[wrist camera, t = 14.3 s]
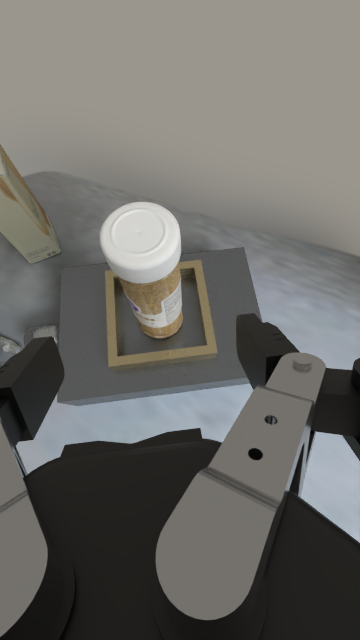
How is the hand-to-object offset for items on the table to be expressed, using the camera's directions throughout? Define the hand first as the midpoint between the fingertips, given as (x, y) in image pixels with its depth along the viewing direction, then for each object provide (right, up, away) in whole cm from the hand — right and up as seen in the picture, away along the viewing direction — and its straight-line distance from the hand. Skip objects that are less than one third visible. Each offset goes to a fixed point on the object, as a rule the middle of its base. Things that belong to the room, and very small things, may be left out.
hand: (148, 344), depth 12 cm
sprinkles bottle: (0, +1, +16) cm, 16 cm away
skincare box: (-17, +12, +25) cm, 33 cm away
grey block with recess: (-3, -1, +20) cm, 20 cm away
